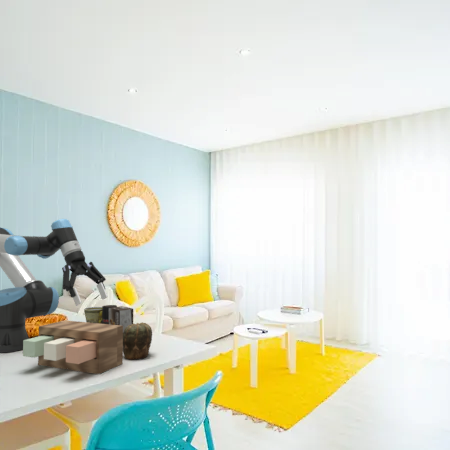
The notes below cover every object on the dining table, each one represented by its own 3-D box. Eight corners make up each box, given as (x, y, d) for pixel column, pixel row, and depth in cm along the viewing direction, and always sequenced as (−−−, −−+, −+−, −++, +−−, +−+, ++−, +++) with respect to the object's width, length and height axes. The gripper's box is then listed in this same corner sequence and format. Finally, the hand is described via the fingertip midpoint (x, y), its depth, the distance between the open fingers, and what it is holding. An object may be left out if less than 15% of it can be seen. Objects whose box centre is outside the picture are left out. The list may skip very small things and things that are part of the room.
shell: (158, 354, 150) (158, 322, 151) (137, 362, 141) (138, 327, 141) (136, 350, 156) (136, 319, 156) (115, 357, 146) (115, 324, 147)
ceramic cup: (79, 329, 195) (80, 308, 196) (97, 326, 203) (97, 306, 204) (95, 333, 187) (96, 311, 188) (113, 329, 195) (113, 308, 196)
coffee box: (134, 349, 157) (134, 308, 158) (119, 352, 153) (119, 310, 154) (121, 345, 164) (122, 305, 165) (107, 348, 159) (107, 307, 160)
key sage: (22, 356, 130) (23, 340, 130) (45, 349, 139) (45, 334, 139) (34, 357, 128) (34, 341, 129) (56, 350, 137) (56, 335, 137)
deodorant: (112, 343, 167) (112, 307, 167) (99, 343, 168) (99, 306, 169) (118, 340, 173) (119, 305, 173) (106, 339, 174) (106, 304, 174)
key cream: (43, 359, 127) (44, 343, 127) (65, 352, 135) (65, 336, 135) (55, 360, 125) (56, 344, 125) (76, 353, 133) (77, 338, 133)
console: (38, 364, 137) (38, 326, 138) (64, 355, 149) (65, 320, 149) (98, 374, 127) (99, 332, 128) (122, 363, 138) (122, 325, 139)
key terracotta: (65, 362, 123) (65, 345, 124) (86, 354, 132) (86, 339, 132) (78, 364, 121) (78, 347, 122) (98, 356, 130) (98, 340, 130)
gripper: (52, 251, 152) (72, 302, 147) (101, 247, 174) (120, 291, 169) (41, 261, 155) (60, 311, 150) (90, 256, 177) (109, 299, 172)
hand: (92, 301), depth 160 cm, fingers open, 13 cm apart
